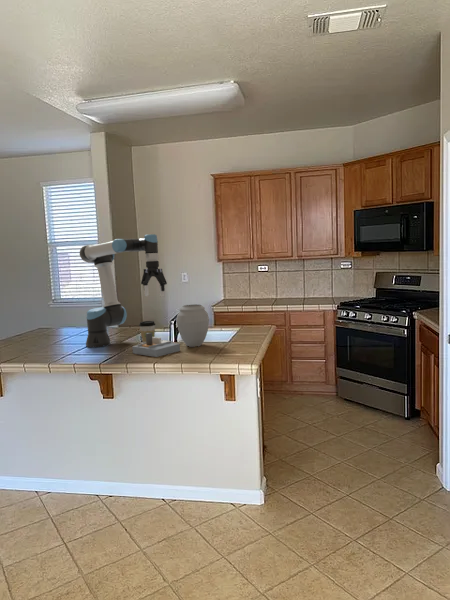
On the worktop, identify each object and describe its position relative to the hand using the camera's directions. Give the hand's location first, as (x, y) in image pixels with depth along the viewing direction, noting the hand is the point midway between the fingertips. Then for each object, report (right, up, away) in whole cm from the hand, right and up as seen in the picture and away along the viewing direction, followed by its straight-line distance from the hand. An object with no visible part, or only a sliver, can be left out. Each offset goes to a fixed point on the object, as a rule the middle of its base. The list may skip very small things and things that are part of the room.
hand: (154, 296), depth 275 cm
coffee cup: (-5, -31, +7) cm, 32 cm away
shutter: (+4, -27, -6) cm, 28 cm away
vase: (+24, -30, +2) cm, 38 cm away
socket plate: (+3, -32, -11) cm, 34 cm away
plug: (-1, -32, -12) cm, 34 cm away
